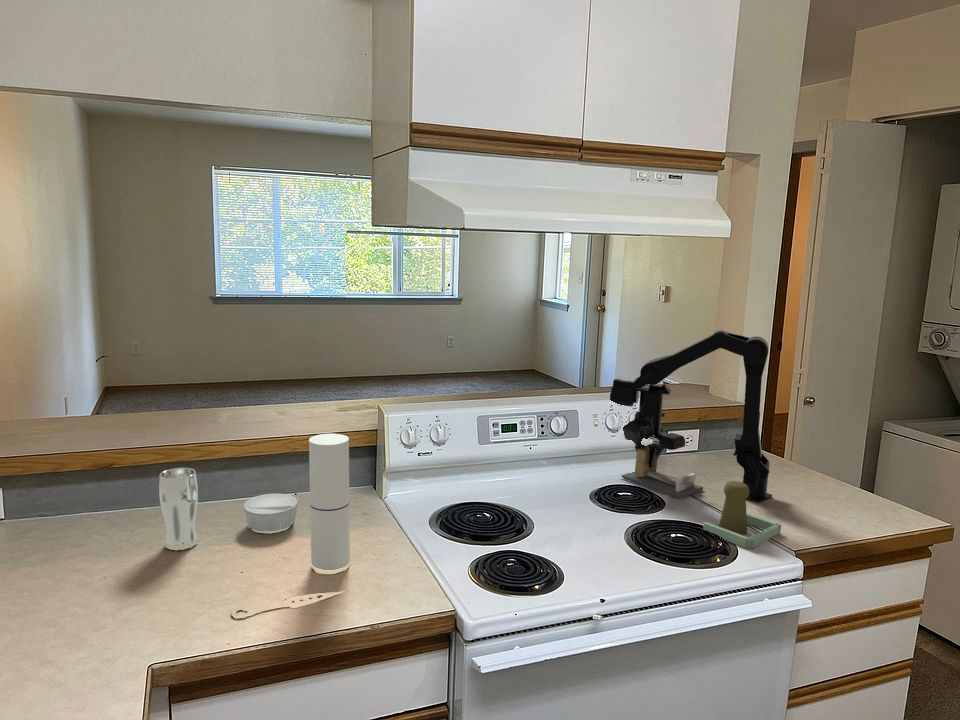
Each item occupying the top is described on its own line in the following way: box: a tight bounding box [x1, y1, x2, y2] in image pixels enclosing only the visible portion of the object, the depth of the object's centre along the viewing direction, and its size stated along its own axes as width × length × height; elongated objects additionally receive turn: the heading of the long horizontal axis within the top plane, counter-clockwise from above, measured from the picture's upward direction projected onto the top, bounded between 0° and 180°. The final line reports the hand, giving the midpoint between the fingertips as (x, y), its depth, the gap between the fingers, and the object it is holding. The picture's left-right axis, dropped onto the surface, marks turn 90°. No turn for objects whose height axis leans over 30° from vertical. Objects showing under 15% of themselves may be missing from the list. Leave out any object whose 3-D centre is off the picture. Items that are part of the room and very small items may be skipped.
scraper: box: [634, 445, 696, 492], centre depth 180 cm, size 7×14×7 cm, turn 41°
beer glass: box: [158, 467, 199, 546], centre depth 138 cm, size 7×7×15 cm
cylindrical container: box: [308, 433, 351, 570], centre depth 130 cm, size 7×7×25 cm
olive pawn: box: [718, 480, 749, 536], centre depth 153 cm, size 6×6×11 cm
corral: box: [702, 512, 782, 550], centre depth 153 cm, size 13×11×2 cm
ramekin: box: [242, 493, 299, 531], centre depth 149 cm, size 11×11×5 cm
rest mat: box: [621, 471, 704, 500], centre depth 181 cm, size 10×18×1 cm, turn 41°
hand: (646, 466), depth 184 cm, fingers closed on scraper, 2 cm apart
